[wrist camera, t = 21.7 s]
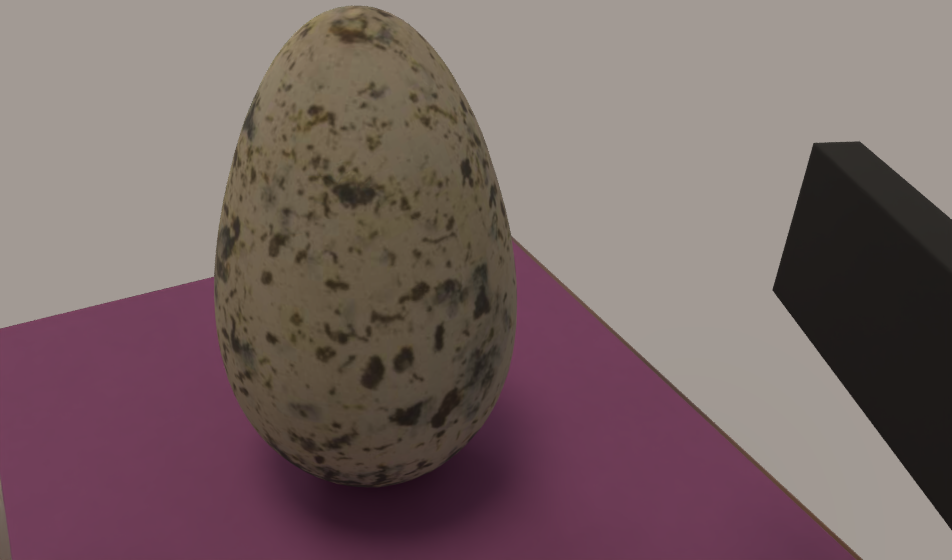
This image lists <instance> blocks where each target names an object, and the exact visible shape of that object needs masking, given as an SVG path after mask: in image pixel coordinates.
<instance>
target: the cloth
mask: <svg viewBox="0 0 952 560" xmlns="http://www.w3.org/2000/svg"><path fill="white" fill-rule="evenodd" d="M512 246H513V253H514V260H515V269H516V283H517V323H516V333H515V341H514V348H513V354H512V358H511V363H510V367H509V371H508V374H507V377H506V380H505V383H504V386H503V388H502V391H501V393H500V396H499V398H498V400H497V402H496V404H495V406H494V408H493V410H492V411H491V413H490V415H489V417H488V418H487V420H486V421H485V423H484V424H483V426H482V427H481V428H480V429H479V431H478V432H477V433H476V434H475V436H474V437H473V438H472V439H471V440H470V441H469V442H468V443H467V444H466V445H465V447H464V448H462V449H461V450H460V451H459V452H458V453H457V454H456V455H454V456H453V457H452V458H451V459H449V460H448V461H447V462H445V463H444V464H442V465H441V466H439V467H438V468H436V469H434V470H433V471H431V472H429V473H427V474H424V475H422V476H420V477H417V478H415V479H412V480H409V481H406V482H403V483H399V484H395V485H389V486H383V487H354V486H346V485H341V484H336V483H333V482H330V481H326V480H323V479H320V478H318V477H315V476H313V475H311V474H309V473H307V472H305V471H303V470H301V469H300V468H298V467H296V466H295V465H293V464H291V463H290V462H289V461H287V460H286V459H285V458H283V457H282V456H281V455H279V454H278V453H277V452H276V451H275V450H274V449H273V448H271V447H270V446H269V445H268V444H267V443H266V442H265V441H264V440H263V439H262V437H261V436H260V435H259V434H258V432H257V431H256V430H255V429H254V427H253V426H252V424H251V423H250V422H249V420H248V419H247V417H246V415H245V414H244V412H243V410H242V409H241V407H240V405H239V403H238V401H237V399H236V397H235V395H234V393H233V390H232V388H231V385H230V383H229V380H228V378H227V374H226V370H225V367H224V363H223V359H222V356H221V352H220V346H219V341H218V335H217V327H216V318H215V302H214V277H211V278H207V279H203V280H199V281H195V282H190V283H187V284H182V285H179V286H174V287H170V288H166V289H162V290H158V291H153V292H149V293H145V294H141V295H137V296H133V297H129V298H125V299H120V300H117V301H112V302H108V303H104V304H100V305H96V306H92V307H88V308H84V309H80V310H75V311H71V312H67V313H63V314H59V315H55V316H51V317H46V318H42V319H38V320H34V321H30V322H26V323H22V324H17V325H13V326H9V327H5V328H1V329H0V479H1V486H2V493H3V501H4V508H5V515H6V522H7V529H8V537H9V544H10V551H11V558H12V560H856V559H855V558H854V557H853V556H852V555H851V554H850V553H849V552H848V551H847V550H846V549H844V548H843V547H842V546H841V545H840V544H839V543H838V542H837V541H836V540H835V539H834V538H833V537H831V536H830V535H829V534H828V533H827V532H826V531H825V530H824V529H823V528H822V527H821V526H820V525H819V524H817V523H816V522H815V521H814V520H813V519H812V518H811V517H810V516H809V515H808V514H807V513H806V512H805V511H803V510H802V509H801V508H800V507H799V506H798V505H797V504H796V503H795V502H794V501H793V500H792V499H791V498H789V497H788V496H787V495H786V494H785V493H784V492H783V491H782V490H781V489H780V488H779V487H778V486H776V485H775V484H774V483H773V482H772V481H771V480H770V479H769V478H768V477H767V476H766V475H765V474H764V473H762V472H761V471H760V470H759V469H758V468H757V467H756V466H755V465H754V464H753V463H752V462H751V461H750V460H748V459H747V458H746V457H745V456H744V455H743V454H742V453H741V452H740V451H739V450H738V449H737V448H735V447H734V446H733V445H732V444H731V443H730V442H729V441H728V440H727V439H726V438H725V437H724V436H723V435H721V434H720V433H719V432H718V431H717V430H716V429H715V428H714V427H713V426H712V425H711V424H710V423H709V422H707V421H706V420H705V419H704V418H703V417H702V416H701V415H700V414H699V413H698V412H697V411H696V410H695V409H693V408H692V407H691V406H690V405H689V404H688V403H687V402H686V401H685V400H684V399H683V398H682V397H680V396H679V395H678V394H677V393H676V392H675V391H674V390H673V389H672V388H671V387H670V386H669V385H668V384H666V383H665V382H664V381H663V380H662V379H661V378H660V377H659V376H658V375H657V374H656V373H655V372H654V371H652V370H651V369H650V368H649V367H648V366H647V365H646V364H645V363H644V362H643V361H642V360H641V359H639V358H638V357H637V356H636V355H635V354H634V353H633V352H632V351H631V350H630V349H629V348H628V347H627V346H625V345H624V344H623V343H622V342H621V341H620V340H619V339H618V338H617V337H616V336H615V335H614V334H613V333H611V332H610V331H609V330H608V329H607V328H606V327H605V326H604V325H603V324H602V323H601V322H600V321H599V320H597V319H596V318H595V317H594V316H593V315H592V314H591V313H590V312H589V311H588V310H587V309H586V308H584V307H583V306H582V305H581V304H580V303H579V302H578V301H577V300H576V299H575V298H574V297H573V296H572V295H570V294H569V293H568V292H567V291H566V290H565V289H564V288H563V287H562V286H561V285H560V284H559V283H558V282H556V281H555V280H554V279H553V278H552V277H551V276H550V275H549V274H548V273H547V272H546V271H545V270H544V269H542V268H541V267H540V266H539V265H538V264H537V263H536V262H535V261H534V260H533V259H532V258H531V257H529V256H528V255H527V254H526V253H525V252H524V251H523V250H522V249H521V248H520V247H519V246H518V245H517V244H515V243H514V242H513V241H512Z"/></svg>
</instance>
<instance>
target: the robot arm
mask: <svg viewBox="0 0 952 560" xmlns="http://www.w3.org/2000/svg"><path fill="white" fill-rule="evenodd" d="M773 291H774V293H775V294H776V296H777V297H778V298H779V299H780V301H781V302H782V304H783V305H784V306H785V308H786V309H787V310H788V312H789V313H790V314H791V315H792V317H793V318H794V319H795V321H796V322H797V324H798V325H799V326H800V328H801V329H802V330H803V332H804V333H805V334H806V336H807V337H808V338H809V340H810V341H811V342H812V343H813V345H814V346H815V348H816V349H817V350H818V352H819V353H820V354H821V356H822V357H823V358H824V360H825V361H826V362H827V364H828V365H829V366H830V368H831V369H832V370H833V372H834V373H835V375H836V376H837V377H838V379H839V380H840V381H841V382H842V384H843V385H844V387H845V388H846V389H847V390H848V392H849V393H850V395H851V396H852V397H853V399H854V400H855V401H856V403H857V404H858V405H859V407H860V408H861V409H862V411H863V412H864V413H865V415H866V416H867V417H868V419H869V420H870V421H871V423H872V424H873V425H874V427H875V428H876V429H877V431H878V432H879V433H880V435H881V436H882V437H883V439H884V440H885V441H886V443H887V444H888V445H889V447H890V448H891V450H892V451H893V452H894V454H896V456H897V458H898V459H899V460H900V462H901V463H902V464H903V466H904V467H905V468H906V470H907V471H908V472H909V473H910V475H911V476H912V477H913V479H914V480H915V481H916V483H917V484H918V486H919V487H920V488H921V490H922V491H923V492H924V494H925V495H926V496H927V498H928V499H929V500H930V502H931V503H932V504H933V505H934V507H935V508H936V510H937V511H938V512H939V514H940V515H941V516H942V518H943V519H944V520H945V522H946V523H947V524H948V526H949V527H950V528H951V530H952V219H950V218H949V217H948V216H947V215H946V214H945V213H943V212H942V211H941V210H940V209H939V208H937V207H936V206H935V205H934V204H933V203H932V202H930V201H929V200H928V199H927V198H926V197H925V196H923V195H922V194H921V193H920V192H919V191H917V190H916V189H915V188H914V187H913V186H912V185H910V184H909V183H908V182H907V181H906V180H905V179H903V178H902V177H901V176H900V175H899V174H897V173H896V172H895V171H894V170H892V168H890V167H889V166H888V165H887V164H886V163H884V162H883V161H882V160H881V159H880V158H878V157H877V156H876V155H875V154H874V153H873V152H871V151H870V150H869V149H868V148H867V147H866V146H864V145H863V144H862V143H861V142H829V143H814V144H813V147H812V151H811V154H810V158H809V162H808V165H807V169H806V173H805V176H804V180H803V183H802V187H801V190H800V194H799V197H798V201H797V204H796V208H795V211H794V215H793V219H792V223H791V226H790V230H789V233H788V236H787V240H786V244H785V247H784V251H783V254H782V258H781V261H780V265H779V269H778V272H777V276H776V279H775V283H774V286H773Z"/></svg>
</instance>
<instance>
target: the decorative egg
mask: <svg viewBox="0 0 952 560" xmlns="http://www.w3.org/2000/svg"><path fill="white" fill-rule="evenodd" d="M214 302H215V318H216V327H217V335H218V341H219V346H220V352H221V356H222V359H223V363H224V367H225V370H226V374H227V378H228V380H229V383H230V385H231V388H232V390H233V393H234V395H235V397H236V399H237V401H238V403H239V405H240V407H241V409H242V410H243V412H244V414H245V415H246V417H247V419H248V420H249V422H250V423H251V424H252V426H253V427H254V429H255V430H256V431H257V432H258V434H259V435H260V436H261V437H262V439H263V440H264V441H265V442H266V443H267V444H268V445H269V446H270V447H271V448H273V449H274V450H275V451H276V452H277V453H278V454H279V455H281V456H282V457H283V458H285V459H286V460H287V461H289V462H290V463H291V464H293V465H295V466H296V467H298V468H300V469H301V470H303V471H305V472H307V473H309V474H311V475H313V476H315V477H318V478H320V479H323V480H326V481H330V482H333V483H336V484H341V485H346V486H354V487H383V486H389V485H395V484H399V483H403V482H406V481H409V480H412V479H415V478H417V477H420V476H422V475H424V474H427V473H429V472H431V471H433V470H434V469H436V468H438V467H439V466H441V465H442V464H444V463H445V462H447V461H448V460H449V459H451V458H452V457H453V456H454V455H456V454H457V453H458V452H459V451H460V450H461V449H462V448H464V447H465V445H466V444H467V443H468V442H469V441H470V440H471V439H472V438H473V437H474V436H475V434H476V433H477V432H478V431H479V429H480V428H481V427H482V426H483V424H484V423H485V421H486V420H487V418H488V417H489V415H490V413H491V411H492V410H493V408H494V406H495V404H496V402H497V400H498V398H499V396H500V393H501V391H502V388H503V386H504V383H505V380H506V377H507V374H508V371H509V367H510V363H511V358H512V354H513V348H514V341H515V333H516V323H517V283H516V269H515V260H514V253H513V246H512V239H511V233H510V228H509V223H508V219H507V215H506V209H505V205H504V202H503V198H502V194H501V191H500V187H499V183H498V180H497V177H496V174H495V170H494V168H493V164H492V161H491V158H490V155H489V151H488V148H487V145H486V143H485V140H484V137H483V134H482V132H481V130H480V127H479V125H478V122H477V120H476V118H475V115H474V113H473V111H472V110H471V108H470V105H469V103H468V102H467V100H466V98H465V96H464V94H463V92H462V91H461V89H460V88H459V85H458V84H457V82H456V80H455V79H454V77H453V75H452V73H451V72H450V70H449V69H448V67H447V66H446V64H445V63H444V61H443V60H442V59H441V57H440V56H439V55H438V54H437V52H436V51H435V50H434V48H433V47H432V46H431V45H430V44H429V43H428V42H427V41H426V40H425V39H424V38H423V37H422V36H421V35H420V34H419V33H418V32H417V31H416V30H415V29H414V28H413V27H411V26H410V25H409V24H408V23H406V22H405V21H403V20H402V19H400V18H398V17H396V16H394V15H393V14H391V13H389V12H385V11H383V10H380V9H377V8H373V7H368V6H345V7H338V8H335V9H332V10H329V11H326V12H324V13H322V14H320V15H318V16H316V17H314V18H313V19H312V20H310V21H309V22H307V23H306V24H305V25H303V26H302V27H301V28H300V29H299V30H298V31H297V32H296V33H295V34H294V35H293V36H292V37H291V38H290V39H289V40H288V42H287V43H286V44H285V45H284V46H283V48H282V49H281V50H280V52H279V53H278V54H277V56H276V57H275V59H274V60H273V62H272V63H271V65H270V67H269V69H268V70H267V72H266V74H265V76H264V78H263V80H262V82H261V84H260V86H259V88H258V90H257V93H256V95H255V97H254V99H253V101H252V104H251V106H250V109H249V111H248V113H247V116H246V118H245V121H244V124H243V127H242V130H241V133H240V137H239V140H238V143H237V147H236V150H235V153H234V157H233V161H232V165H231V170H230V173H229V177H228V182H227V186H226V191H225V196H224V200H223V206H222V212H221V218H220V223H219V230H218V238H217V248H216V257H215V272H214Z"/></svg>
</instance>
